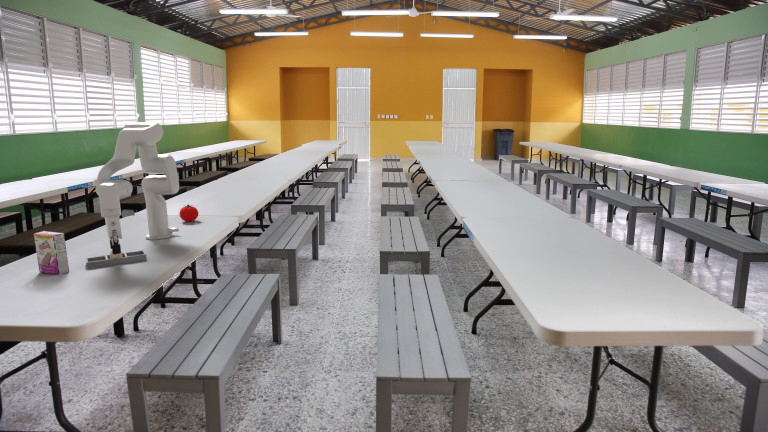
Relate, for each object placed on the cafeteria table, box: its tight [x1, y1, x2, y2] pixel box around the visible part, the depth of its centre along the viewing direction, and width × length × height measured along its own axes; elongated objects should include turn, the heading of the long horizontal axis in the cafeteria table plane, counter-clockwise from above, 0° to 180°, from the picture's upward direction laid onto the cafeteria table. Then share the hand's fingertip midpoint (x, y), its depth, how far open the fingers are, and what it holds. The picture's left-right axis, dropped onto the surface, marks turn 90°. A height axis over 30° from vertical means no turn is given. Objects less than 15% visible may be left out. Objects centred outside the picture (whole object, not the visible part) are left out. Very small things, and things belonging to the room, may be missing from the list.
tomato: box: [178, 204, 199, 223], centre depth 305 cm, size 10×10×10 cm
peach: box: [109, 250, 123, 259], centre depth 226 cm, size 5×5×5 cm
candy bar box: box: [33, 230, 70, 276], centre depth 212 cm, size 11×5×16 cm, turn 71°
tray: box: [85, 249, 148, 270], centre depth 227 cm, size 23×8×3 cm, turn 121°
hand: (115, 251), depth 226 cm, fingers open, 9 cm apart
